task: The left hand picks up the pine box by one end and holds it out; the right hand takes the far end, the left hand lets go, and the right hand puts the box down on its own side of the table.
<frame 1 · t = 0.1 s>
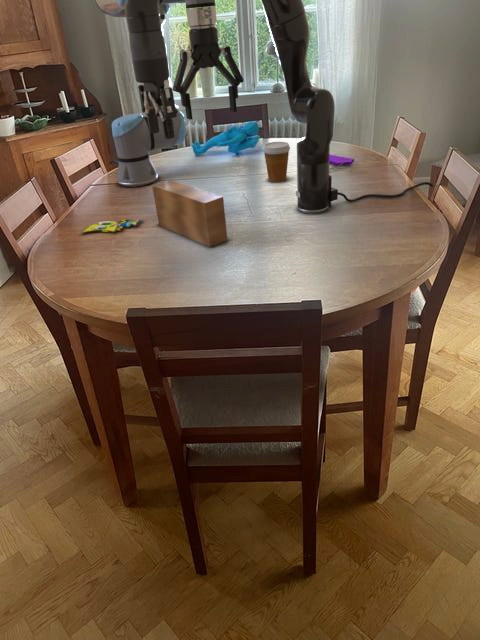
left hand: (211, 115, 136), 28 cm above the table, tool pointing down, fingers open, 13 cm apart
right hand: (162, 135, 111), 29 cm above the table, tool pointing down, fingers open, 8 cm apart
toy 2: (112, 227, 145), on the table
toy: (226, 153, 210), on the table
box: (191, 232, 137), on the table
disposable coffee cup: (277, 179, 172), on the table
musical instrument: (322, 163, 185), on the table
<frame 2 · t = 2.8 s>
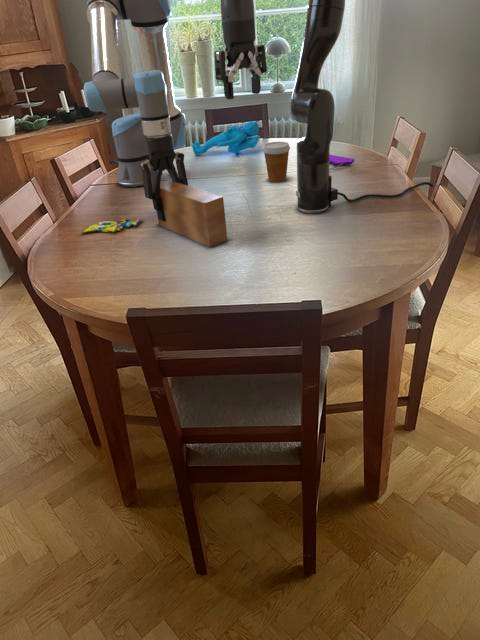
left hand: (171, 216, 142), 3 cm above the table, tool pointing down, fingers closed on box, 6 cm apart
right hand: (243, 96, 118), 34 cm above the table, tool pointing down, fingers open, 8 cm apart
box: (191, 232, 137), on the table, touching left hand
everything else where it was.
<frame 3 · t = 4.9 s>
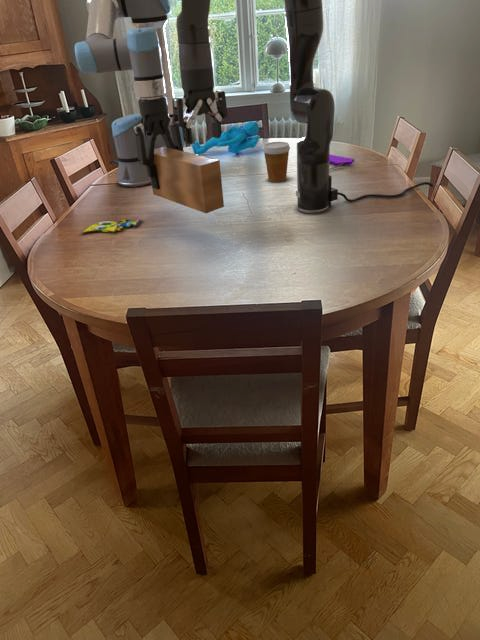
left hand: (166, 184, 137), 12 cm above the table, tool pointing down, fingers closed on box, 6 cm apart
right hand: (203, 140, 117), 26 cm above the table, tool pointing down, fingers open, 8 cm apart
box: (186, 200, 132), point 9 cm above the table, touching left hand
everything else where it was.
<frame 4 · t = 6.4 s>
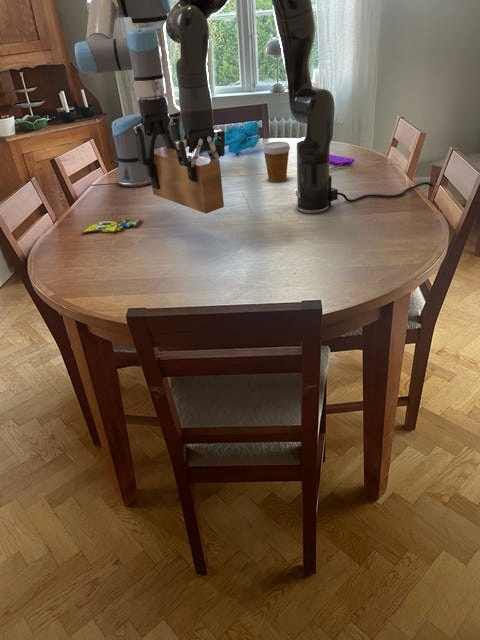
left hand: (166, 184, 137), 12 cm above the table, tool pointing down, fingers closed on box, 6 cm apart
right hand: (204, 177, 122), 17 cm above the table, tool pointing down, fingers closed on box, 6 cm apart
box: (186, 200, 132), point 9 cm above the table, touching left hand, right hand
everything else where it was.
when the left hand's fingers open (12 cm above the table, at t = 7.3 s): box stays where it is, held by the right hand.
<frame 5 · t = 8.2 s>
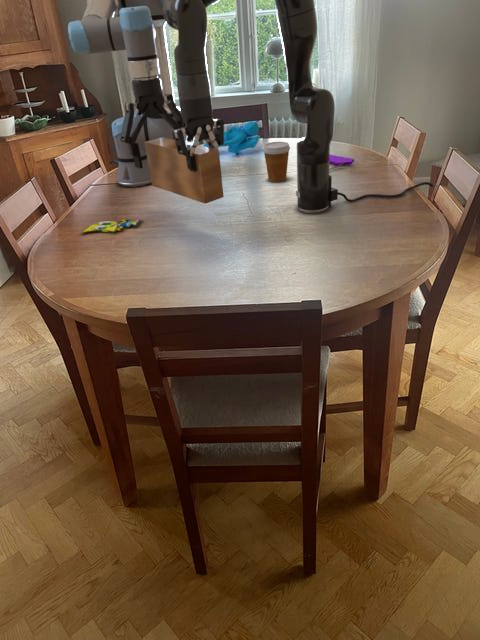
left hand: (159, 161, 135), 18 cm above the table, tool pointing down, fingers open, 13 cm apart
right hand: (203, 167, 120), 20 cm above the table, tool pointing down, fingers closed on box, 6 cm apart
box: (186, 191, 131), point 12 cm above the table, touching right hand
everything else where it was.
when the right hand's fingers open (9 cm above the table, at t = 12.5 s): box drops 2 cm, on the table.
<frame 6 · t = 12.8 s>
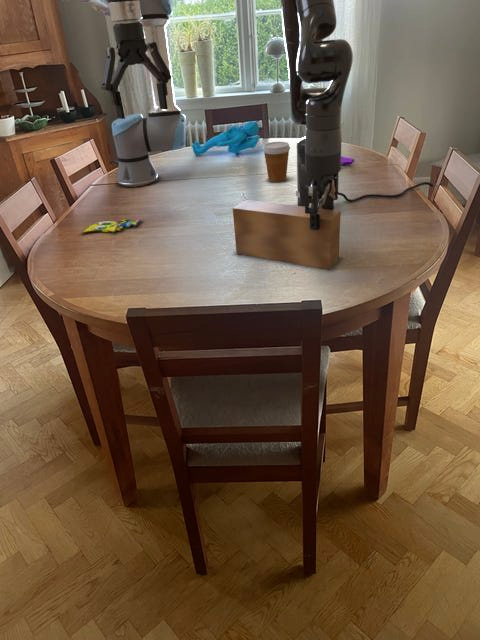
left hand: (143, 113, 131), 30 cm above the table, tool pointing down, fingers open, 13 cm apart
right hand: (321, 222, 110), 10 cm above the table, tool pointing down, fingers open, 8 cm apart
box: (286, 256, 119), on the table
everything else where it was.
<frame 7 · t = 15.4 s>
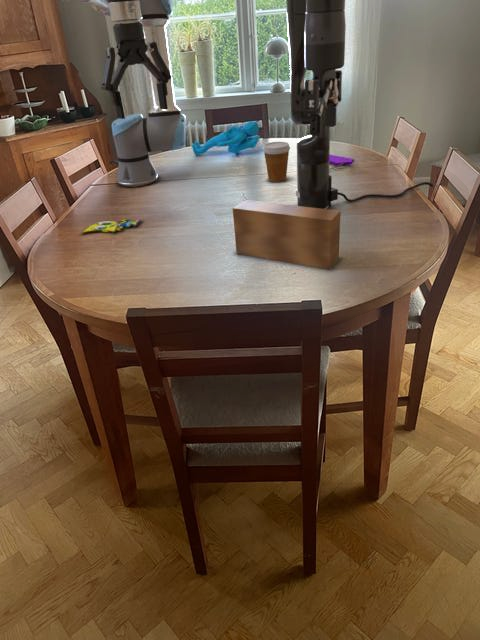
left hand: (143, 113, 131), 30 cm above the table, tool pointing down, fingers open, 13 cm apart
right hand: (323, 130, 99), 30 cm above the table, tool pointing down, fingers open, 8 cm apart
nothing on the table moved.
at the end: box inside the target area (9.3 cm from its centre), on the table; the left hand is holding nothing; the right hand is holding nothing; box at rest at the end (0.0 cm/s) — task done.
